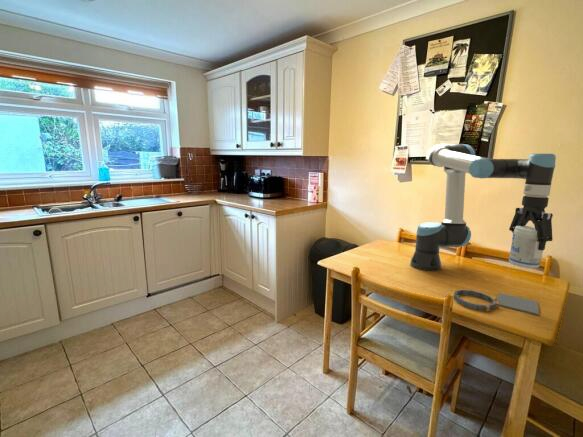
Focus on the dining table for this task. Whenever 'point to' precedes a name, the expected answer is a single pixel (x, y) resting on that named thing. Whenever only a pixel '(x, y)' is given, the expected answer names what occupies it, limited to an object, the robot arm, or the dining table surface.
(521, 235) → the supplement tub
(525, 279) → the dining table surface
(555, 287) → the dining table surface
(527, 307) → the trivet
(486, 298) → the collar
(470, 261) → the dining table surface
